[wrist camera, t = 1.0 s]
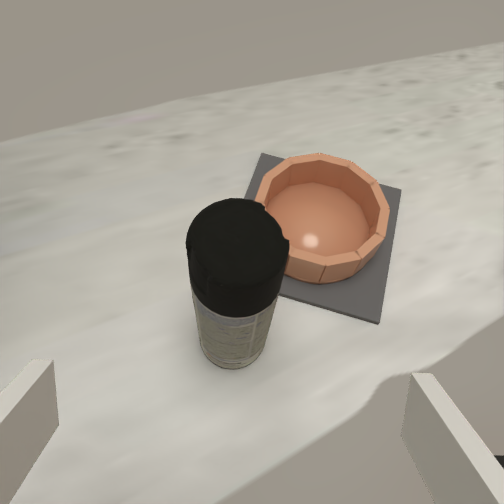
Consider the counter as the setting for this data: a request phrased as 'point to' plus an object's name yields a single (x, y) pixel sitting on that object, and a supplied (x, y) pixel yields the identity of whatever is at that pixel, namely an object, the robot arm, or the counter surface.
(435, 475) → the robot arm
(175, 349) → the counter surface
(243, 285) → the spray can
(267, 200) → the bowl
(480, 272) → the counter surface
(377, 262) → the mat
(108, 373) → the counter surface
